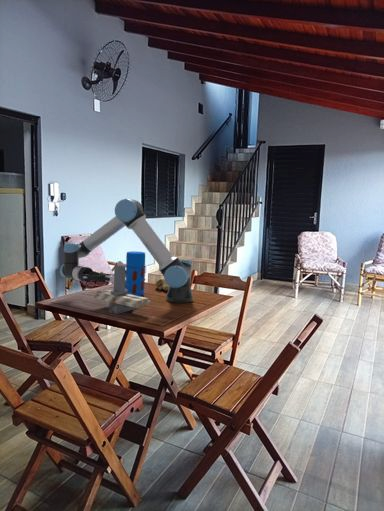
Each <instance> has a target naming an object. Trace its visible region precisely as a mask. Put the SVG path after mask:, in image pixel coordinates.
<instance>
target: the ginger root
mask: <svg viewBox="0 0 384 511" xmlns="http://www.w3.org/2000/svg"><path fill="white" fill-rule="evenodd" d="M154 286H155V287H157V289H158V290H159V291H161V290H164V291H168V290H169V287H170V286H169V285H168V284H167V283H166V282H165V279H164V278H160V279H158V280H155V285H154Z"/></svg>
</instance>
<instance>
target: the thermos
mask: <svg viewBox="0 0 384 511" xmlns="http://www.w3.org/2000/svg"><path fill="white" fill-rule="evenodd" d="M125 256H126V259H125V270H126V278H125V279H126V286H125V289H126V290H128V293H126V294H131V295H135V296H140V297H143V296H144V295H145V280H146V278H145V277H146V252H144V251H135V250H133V251H127V252H126V255H125Z"/></svg>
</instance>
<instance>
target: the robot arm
mask: <svg viewBox="0 0 384 511" xmlns="http://www.w3.org/2000/svg"><path fill="white" fill-rule="evenodd" d="M146 217H147V214H145V212H144V207H143V204H142V203H141V202H140V201H138V200H136V199H131V198H124V199H121V200H119V201H118V202H117V203H116V204H115V207H114V217H112V218H111V219H110V220H108V222H106V223H104V224H103V225H102V226H101V227H100V228H98V229H97V230H95V231H94V232H93V233H91V234H90V235H89V236H87V237H86V238H85V239H84V240H82V241H81V242H79V243H78V242H65V243H64V246H63V264H62V265H61V266H60V268H59V274H60V275H61V277H63V278H66V279H70V280H76V281H78V282H85V283H88V282H91V281H92V282H93V281H94V282H102V283H105V282H107V283H108V282H109V283H113V284H114V275H113V276H112V275H111V274H110V273H106V272H103V271H100V272H98V271H95V270H93V269H92V267H88V266H82V265H81V266H80V263H79V260H80V259H81V258H85V257H87V256H89V255H90V253H91V252H92V251H94V250H95V249H96V248H98V247H100V245H101V244H103V243H105V242H106V241H107V240H109V239H110V238H111V237H112V236H114V235H115V234H117V233H118V232H119V231H121V230H122V229H123V228H124V227H126V229H128V230H132V232H133V233H134V234H135V235H136V237H137V238H138V239H139V240H140V241H141V243H142V245H144V247H145V249H146V250H147V251H148V252H149V254H150V255H151V256H152V258H153V259H154V260H155V261H156V263H157V265H158V266H159V272H160V273H161V274H162V276H163V279H165V282H166V283H167V284H168V285H169V286H170V287H169V290H167V293H166V297H165V299H166V301H167V302H169V303H170V302H171V303H177V304H186V303H191V302H193V301H194V296H193V292H192V288H191V282H192V281H191V279H192V278H191V276H192V273H191V272H192V266H193V265H192V261H191V260H190V259H189V260H188V259H187V260H186V259H179V257H177V256H174V255H173V254H172V253H171V252H170V250H169V249H168V248H167V246H166V245H165V243H164V242H163V241H162V240H161V238H160V237H159V235H158V234H157V233H156V231H154V229H153V228H152V226H151V225H150V224H149V222H148V220H146Z"/></svg>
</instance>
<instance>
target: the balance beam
mask: <svg viewBox="0 0 384 511" xmlns="http://www.w3.org/2000/svg"><path fill="white" fill-rule="evenodd" d="M111 291H113V290H112V289H103V291H102V290H98V291H96V294H94V296H93V299H97V300H100V301H105V302H108V313H110V314H114V315H119V314H122V313H125V312H129V311H132V310H135V308H136V309H137V308H141V307H144V306H148V305H151V300H150V299H149V298H148V297H143V296H135V295H131V294H123V296H121V295H118V296H115V295H111Z"/></svg>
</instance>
